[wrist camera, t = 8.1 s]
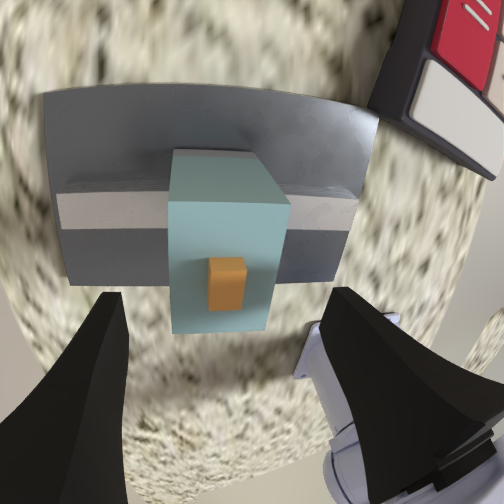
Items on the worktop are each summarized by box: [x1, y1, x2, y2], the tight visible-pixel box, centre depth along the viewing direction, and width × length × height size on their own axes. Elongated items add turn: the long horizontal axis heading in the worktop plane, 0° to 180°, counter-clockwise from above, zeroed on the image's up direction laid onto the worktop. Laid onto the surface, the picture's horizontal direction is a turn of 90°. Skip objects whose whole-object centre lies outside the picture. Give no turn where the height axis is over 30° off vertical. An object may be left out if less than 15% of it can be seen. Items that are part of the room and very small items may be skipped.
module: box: [168, 149, 292, 334], centre depth 14 cm, size 4×6×7 cm, turn 173°
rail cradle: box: [44, 83, 380, 286], centre depth 16 cm, size 18×12×2 cm, turn 83°
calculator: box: [367, 0, 504, 181], centre depth 13 cm, size 11×4×15 cm
